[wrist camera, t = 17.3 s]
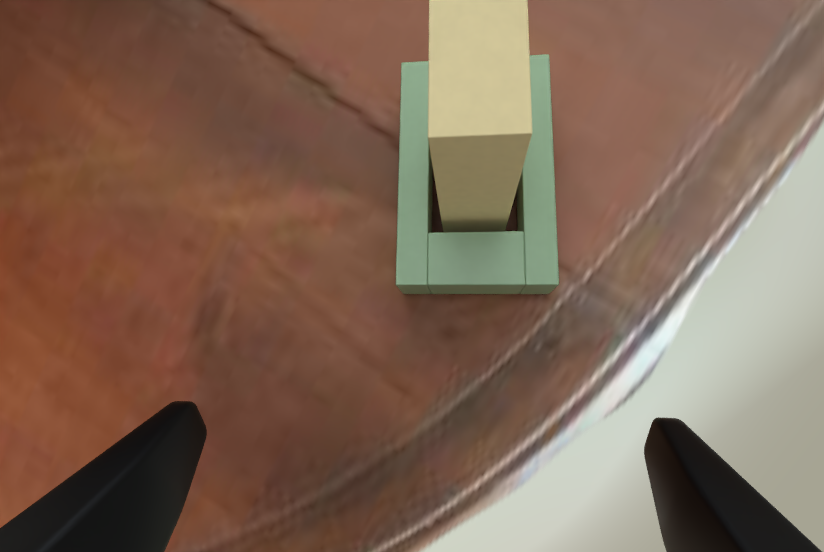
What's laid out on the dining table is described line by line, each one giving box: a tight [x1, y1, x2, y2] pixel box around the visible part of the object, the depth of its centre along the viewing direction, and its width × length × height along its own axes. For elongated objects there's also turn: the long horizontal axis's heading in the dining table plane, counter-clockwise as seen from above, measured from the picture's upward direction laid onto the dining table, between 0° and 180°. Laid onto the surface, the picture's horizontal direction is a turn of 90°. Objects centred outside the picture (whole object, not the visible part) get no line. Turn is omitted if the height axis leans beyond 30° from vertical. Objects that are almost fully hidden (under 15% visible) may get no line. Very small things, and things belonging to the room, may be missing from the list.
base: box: [396, 55, 559, 294], centre depth 23 cm, size 11×7×2 cm, turn 179°
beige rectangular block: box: [428, 0, 532, 232], centre depth 19 cm, size 5×3×10 cm, turn 179°
